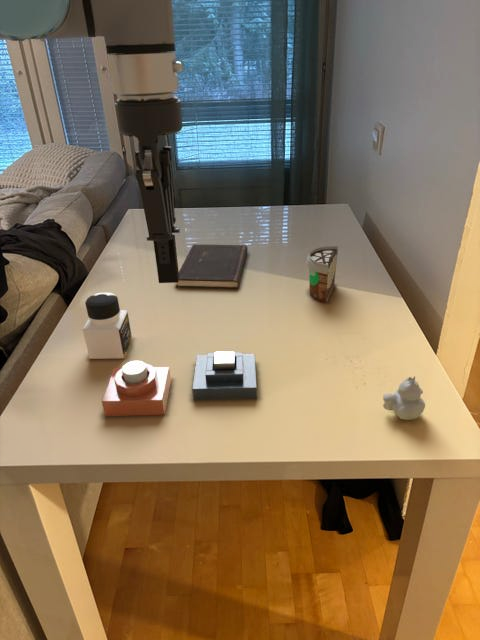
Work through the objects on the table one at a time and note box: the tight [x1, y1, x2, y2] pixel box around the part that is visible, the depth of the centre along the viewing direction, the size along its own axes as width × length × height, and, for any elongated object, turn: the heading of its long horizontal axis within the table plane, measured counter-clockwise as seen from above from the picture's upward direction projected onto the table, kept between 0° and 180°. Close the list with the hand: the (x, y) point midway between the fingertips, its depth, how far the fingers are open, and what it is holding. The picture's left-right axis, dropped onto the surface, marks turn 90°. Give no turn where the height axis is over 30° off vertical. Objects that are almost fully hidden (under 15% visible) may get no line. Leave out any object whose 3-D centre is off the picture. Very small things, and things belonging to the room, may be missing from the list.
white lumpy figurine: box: [382, 375, 426, 421], centre depth 74 cm, size 5×7×8 cm
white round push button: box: [121, 359, 148, 384], centre depth 79 cm, size 4×4×2 cm
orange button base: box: [101, 362, 172, 417], centre depth 80 cm, size 10×9×5 cm
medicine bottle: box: [82, 291, 133, 360], centre depth 92 cm, size 7×7×12 cm
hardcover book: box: [175, 243, 248, 290], centre depth 126 cm, size 16×23×2 cm
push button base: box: [191, 352, 258, 401], centre depth 84 cm, size 11×10×4 cm
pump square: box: [214, 350, 236, 371], centre depth 83 cm, size 4×4×2 cm
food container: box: [305, 245, 339, 303], centre depth 111 cm, size 12×6×10 cm, turn 159°
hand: (169, 280), depth 66 cm, fingers closed
